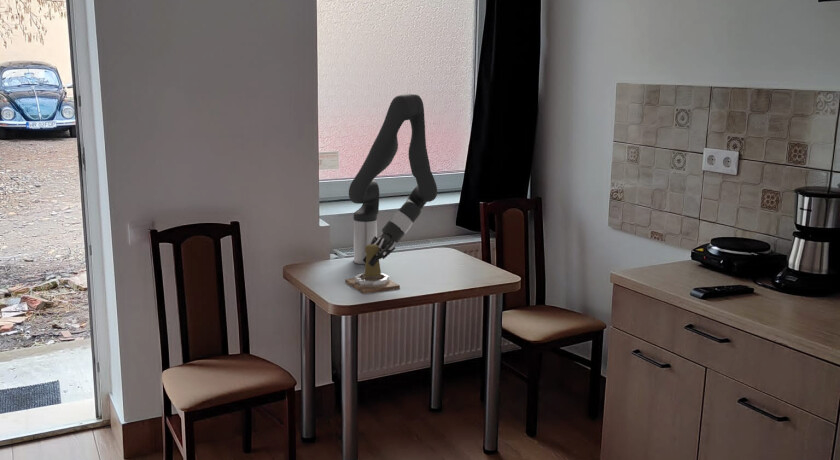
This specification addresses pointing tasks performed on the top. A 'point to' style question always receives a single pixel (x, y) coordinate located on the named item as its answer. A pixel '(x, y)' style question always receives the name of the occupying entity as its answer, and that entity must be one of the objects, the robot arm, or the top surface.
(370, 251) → the olive chess piece
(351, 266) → the top surface
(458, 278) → the top surface
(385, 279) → the metal collar
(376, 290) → the walnut board
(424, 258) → the top surface
